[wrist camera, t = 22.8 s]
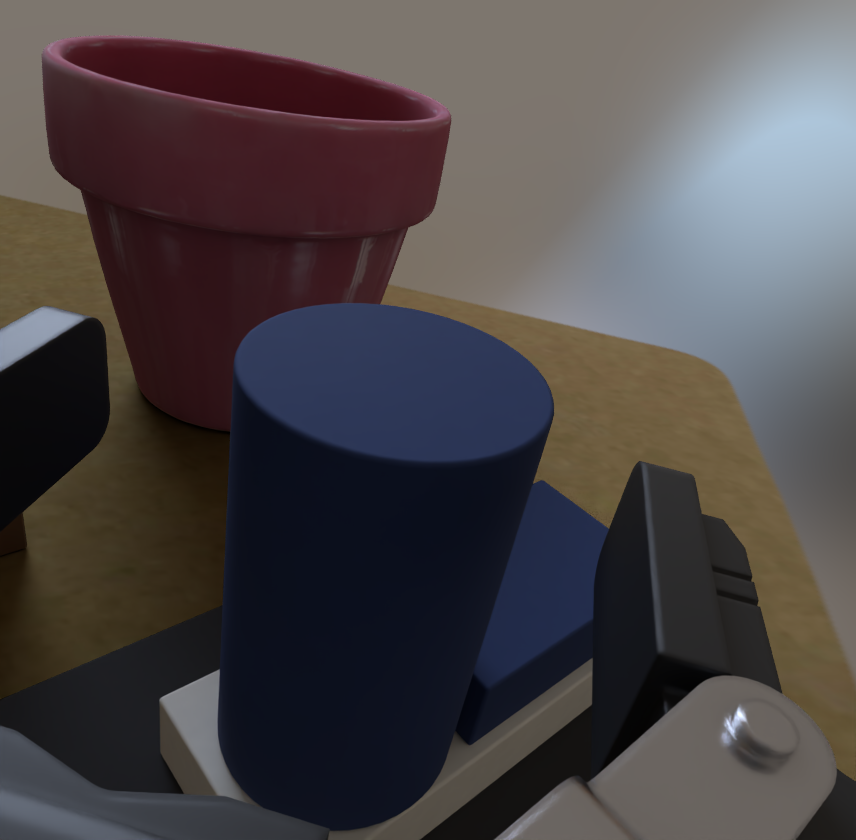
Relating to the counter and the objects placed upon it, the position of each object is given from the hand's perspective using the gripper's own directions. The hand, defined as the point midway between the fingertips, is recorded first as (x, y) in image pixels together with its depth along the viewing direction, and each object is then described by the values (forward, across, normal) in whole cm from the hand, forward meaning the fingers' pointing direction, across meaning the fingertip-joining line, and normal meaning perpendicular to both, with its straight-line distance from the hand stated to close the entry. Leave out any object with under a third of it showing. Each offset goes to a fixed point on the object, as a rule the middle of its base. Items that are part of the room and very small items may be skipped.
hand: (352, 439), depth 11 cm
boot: (+4, -2, +10) cm, 11 cm away
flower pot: (+19, +9, +11) cm, 24 cm away
